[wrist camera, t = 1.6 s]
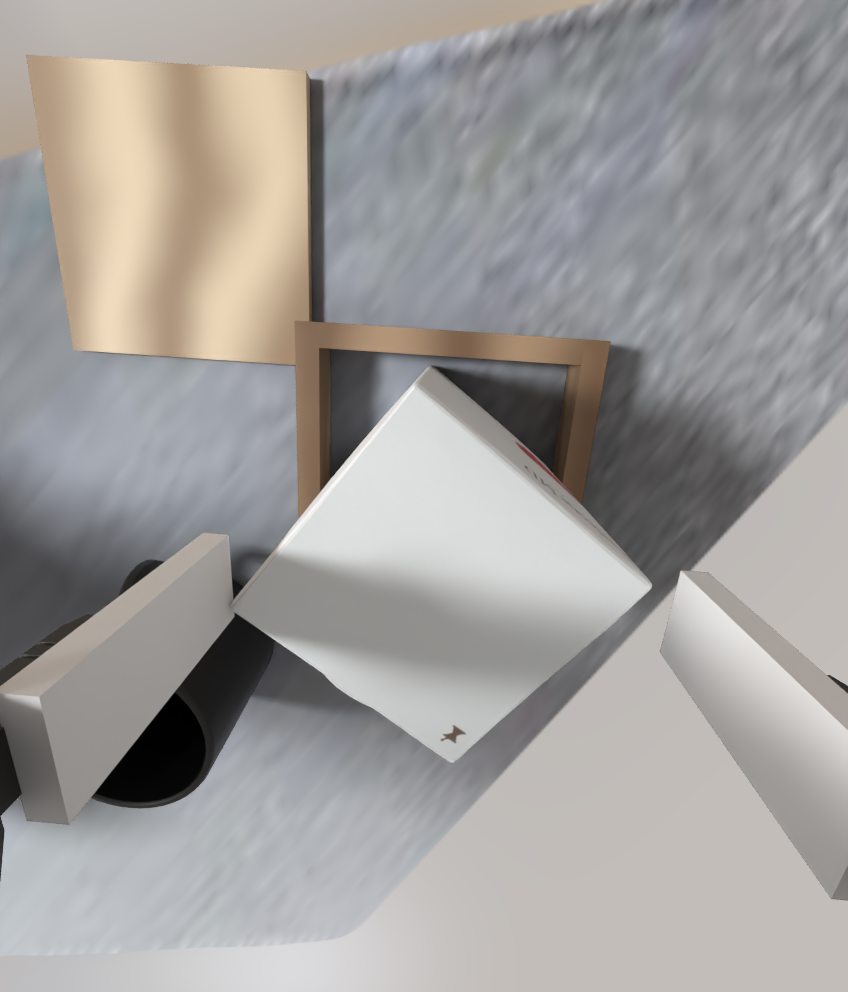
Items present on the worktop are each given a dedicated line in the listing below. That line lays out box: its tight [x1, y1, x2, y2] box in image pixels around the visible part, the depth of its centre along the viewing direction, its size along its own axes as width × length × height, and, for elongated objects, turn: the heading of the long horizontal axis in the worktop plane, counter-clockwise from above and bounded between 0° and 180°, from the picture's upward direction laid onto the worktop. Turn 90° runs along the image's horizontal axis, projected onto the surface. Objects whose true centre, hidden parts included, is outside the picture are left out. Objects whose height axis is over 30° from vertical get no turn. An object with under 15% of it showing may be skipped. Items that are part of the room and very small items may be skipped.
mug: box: [91, 560, 273, 808], centre depth 27 cm, size 9×12×9 cm
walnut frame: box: [294, 321, 611, 518], centre depth 26 cm, size 15×15×2 cm
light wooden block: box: [26, 55, 312, 365], centre depth 24 cm, size 13×13×1 cm
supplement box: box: [230, 366, 652, 763], centre depth 20 cm, size 9×9×15 cm
